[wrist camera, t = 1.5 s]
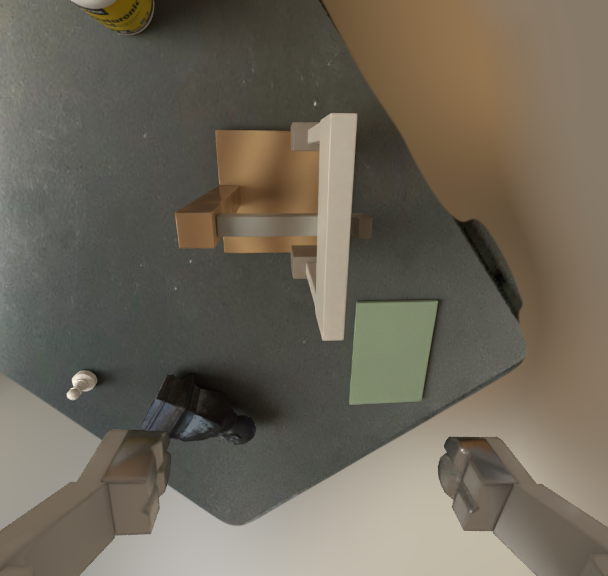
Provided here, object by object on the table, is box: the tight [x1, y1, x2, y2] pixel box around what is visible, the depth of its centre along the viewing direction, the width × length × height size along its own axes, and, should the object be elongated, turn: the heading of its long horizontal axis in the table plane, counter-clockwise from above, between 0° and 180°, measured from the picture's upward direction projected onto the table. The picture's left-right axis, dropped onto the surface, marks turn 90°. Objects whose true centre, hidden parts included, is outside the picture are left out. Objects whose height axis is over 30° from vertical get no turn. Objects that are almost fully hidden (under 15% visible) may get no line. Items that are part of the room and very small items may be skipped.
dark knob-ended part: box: [141, 373, 256, 445], centre depth 42 cm, size 6×13×6 cm, turn 60°
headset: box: [291, 113, 357, 341], centre depth 24 cm, size 3×12×16 cm, turn 0°
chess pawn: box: [67, 370, 97, 400], centre depth 40 cm, size 3×3×4 cm
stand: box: [175, 130, 372, 253], centre depth 28 cm, size 12×12×18 cm
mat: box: [349, 300, 438, 405], centre depth 44 cm, size 10×15×1 cm, turn 179°
